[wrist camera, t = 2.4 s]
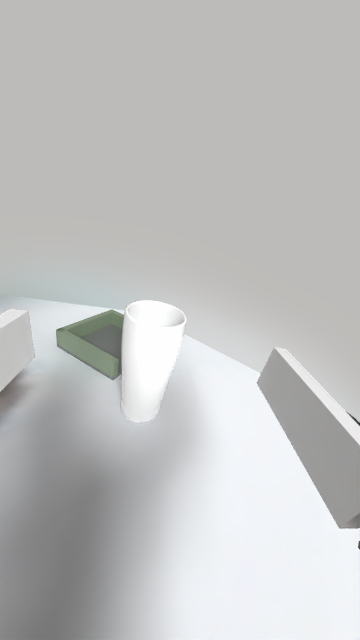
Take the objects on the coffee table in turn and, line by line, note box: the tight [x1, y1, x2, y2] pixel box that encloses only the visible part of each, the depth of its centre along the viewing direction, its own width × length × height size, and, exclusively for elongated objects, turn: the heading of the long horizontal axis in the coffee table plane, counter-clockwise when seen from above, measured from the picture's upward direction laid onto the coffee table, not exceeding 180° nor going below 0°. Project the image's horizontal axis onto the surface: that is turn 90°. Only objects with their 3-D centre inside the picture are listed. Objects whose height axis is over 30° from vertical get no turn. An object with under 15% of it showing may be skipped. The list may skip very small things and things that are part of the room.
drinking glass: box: [121, 300, 187, 423], centre depth 24 cm, size 7×7×15 cm
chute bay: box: [56, 310, 124, 380], centre depth 37 cm, size 13×13×4 cm
